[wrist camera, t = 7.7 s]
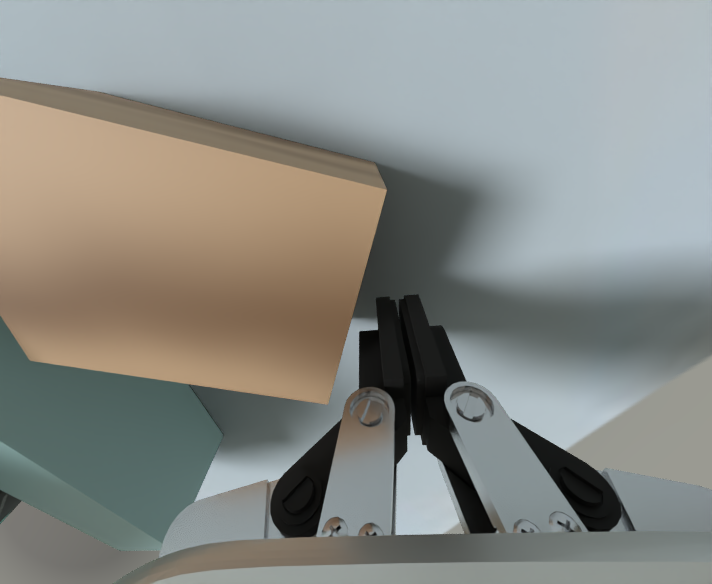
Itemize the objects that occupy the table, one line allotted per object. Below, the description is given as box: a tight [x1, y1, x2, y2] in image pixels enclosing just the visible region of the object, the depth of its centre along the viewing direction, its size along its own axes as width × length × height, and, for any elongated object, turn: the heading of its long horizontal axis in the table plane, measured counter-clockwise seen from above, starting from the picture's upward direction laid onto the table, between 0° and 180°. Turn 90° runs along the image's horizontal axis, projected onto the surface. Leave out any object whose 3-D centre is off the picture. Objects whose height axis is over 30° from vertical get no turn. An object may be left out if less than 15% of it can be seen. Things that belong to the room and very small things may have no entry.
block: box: [0, 78, 387, 405], centre depth 8 cm, size 7×9×5 cm
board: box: [0, 316, 224, 551], centre depth 11 cm, size 20×3×6 cm, turn 6°
